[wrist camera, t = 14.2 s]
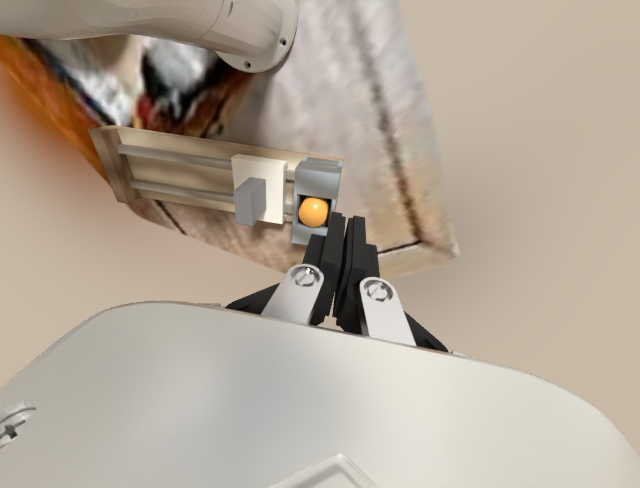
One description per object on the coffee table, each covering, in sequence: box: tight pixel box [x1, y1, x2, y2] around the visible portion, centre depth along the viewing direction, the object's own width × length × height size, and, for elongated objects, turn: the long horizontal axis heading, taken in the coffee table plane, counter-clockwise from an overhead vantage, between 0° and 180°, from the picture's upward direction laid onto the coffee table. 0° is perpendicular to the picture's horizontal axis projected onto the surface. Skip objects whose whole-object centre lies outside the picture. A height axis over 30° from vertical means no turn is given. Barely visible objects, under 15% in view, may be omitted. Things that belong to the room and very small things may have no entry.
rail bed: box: [88, 125, 343, 245], centre depth 39 cm, size 12×39×8 cm, turn 84°
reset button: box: [299, 195, 330, 227], centre depth 36 cm, size 4×4×5 cm
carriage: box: [231, 154, 288, 226], centre depth 37 cm, size 10×8×8 cm
